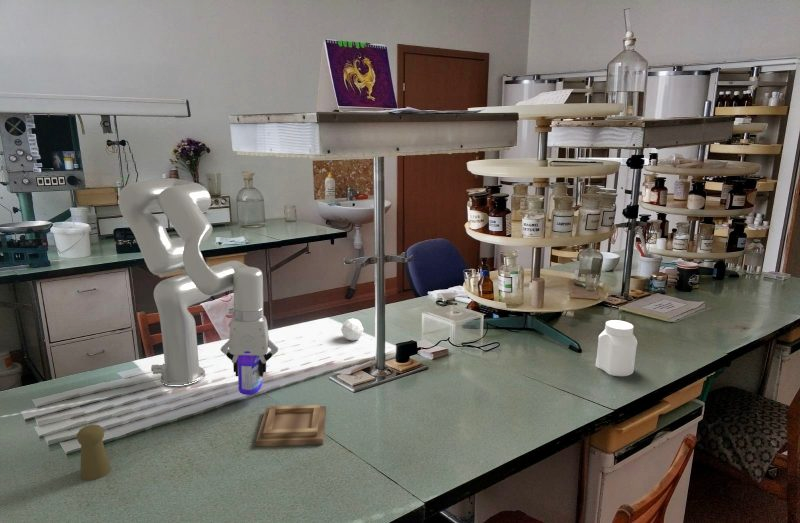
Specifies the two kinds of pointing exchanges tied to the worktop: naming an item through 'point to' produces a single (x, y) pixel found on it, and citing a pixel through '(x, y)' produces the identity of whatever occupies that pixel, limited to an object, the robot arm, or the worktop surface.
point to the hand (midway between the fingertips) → (250, 373)
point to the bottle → (249, 374)
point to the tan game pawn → (93, 453)
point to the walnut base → (292, 425)
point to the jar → (617, 348)
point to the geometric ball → (352, 329)
